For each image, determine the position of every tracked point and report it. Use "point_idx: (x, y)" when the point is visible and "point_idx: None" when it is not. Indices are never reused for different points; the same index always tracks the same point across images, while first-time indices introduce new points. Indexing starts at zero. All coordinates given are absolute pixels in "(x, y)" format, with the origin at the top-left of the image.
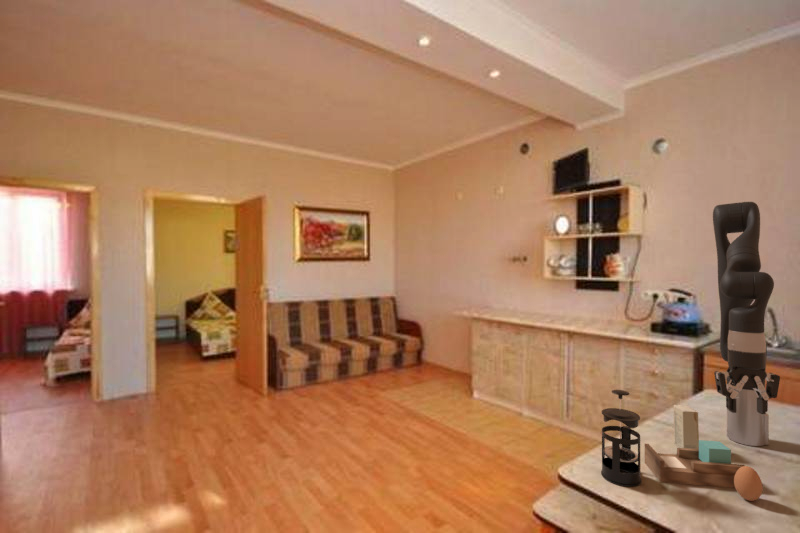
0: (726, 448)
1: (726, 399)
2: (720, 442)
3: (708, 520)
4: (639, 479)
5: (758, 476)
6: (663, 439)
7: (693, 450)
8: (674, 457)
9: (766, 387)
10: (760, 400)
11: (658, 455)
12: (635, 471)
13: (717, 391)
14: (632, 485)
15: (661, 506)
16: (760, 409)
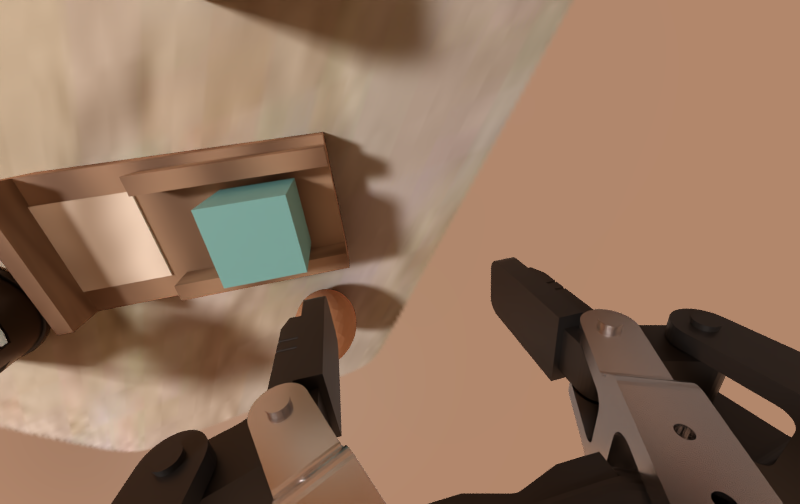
0: (293, 264)
1: (272, 382)
2: (286, 206)
3: (219, 407)
4: (35, 337)
5: (346, 351)
6: None
7: (191, 184)
8: (128, 198)
9: (766, 387)
10: (546, 355)
11: (43, 296)
12: (8, 293)
13: (142, 469)
14: (25, 354)
15: (120, 401)
16: (505, 305)
